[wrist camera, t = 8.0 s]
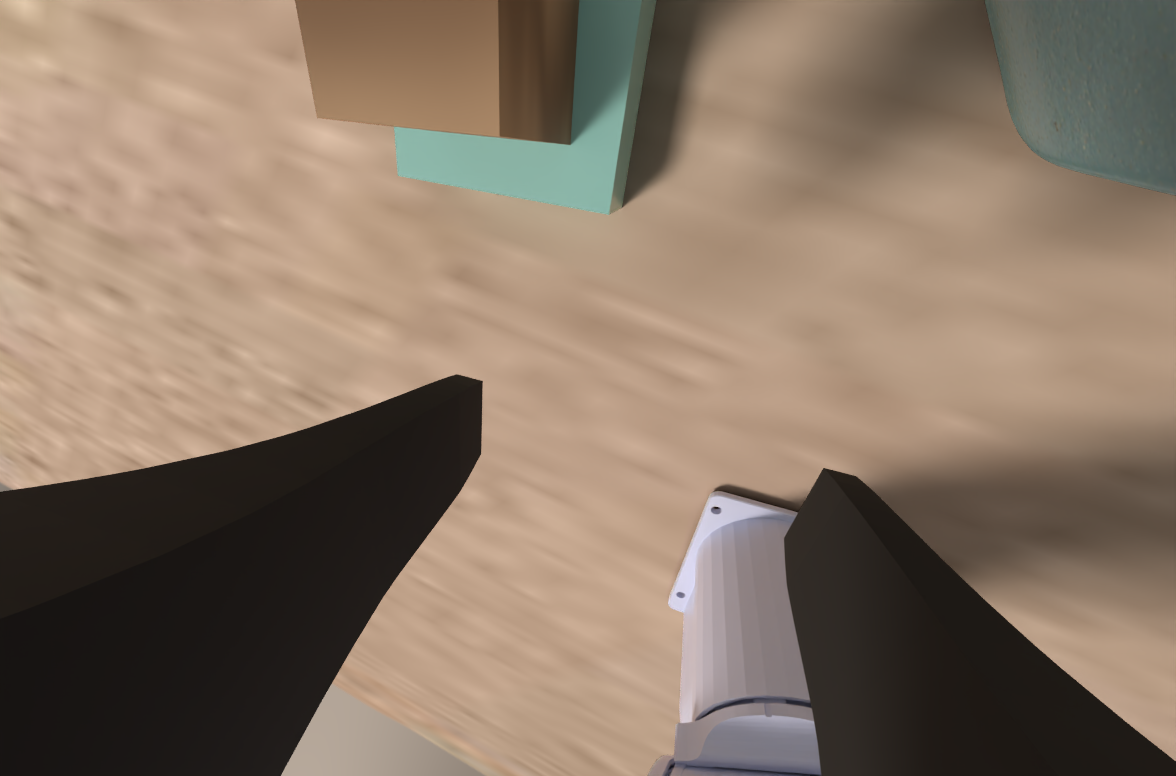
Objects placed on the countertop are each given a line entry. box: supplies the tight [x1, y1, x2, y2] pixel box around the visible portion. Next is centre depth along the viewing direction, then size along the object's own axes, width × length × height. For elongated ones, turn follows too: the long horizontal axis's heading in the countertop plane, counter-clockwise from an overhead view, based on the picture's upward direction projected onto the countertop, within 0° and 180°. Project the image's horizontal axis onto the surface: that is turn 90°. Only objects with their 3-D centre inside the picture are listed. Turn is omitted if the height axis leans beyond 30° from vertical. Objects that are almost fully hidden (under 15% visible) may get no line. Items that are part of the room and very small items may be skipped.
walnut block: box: [295, 0, 579, 145], centre depth 11 cm, size 4×4×6 cm
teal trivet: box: [394, 0, 656, 215], centre depth 14 cm, size 8×8×3 cm
